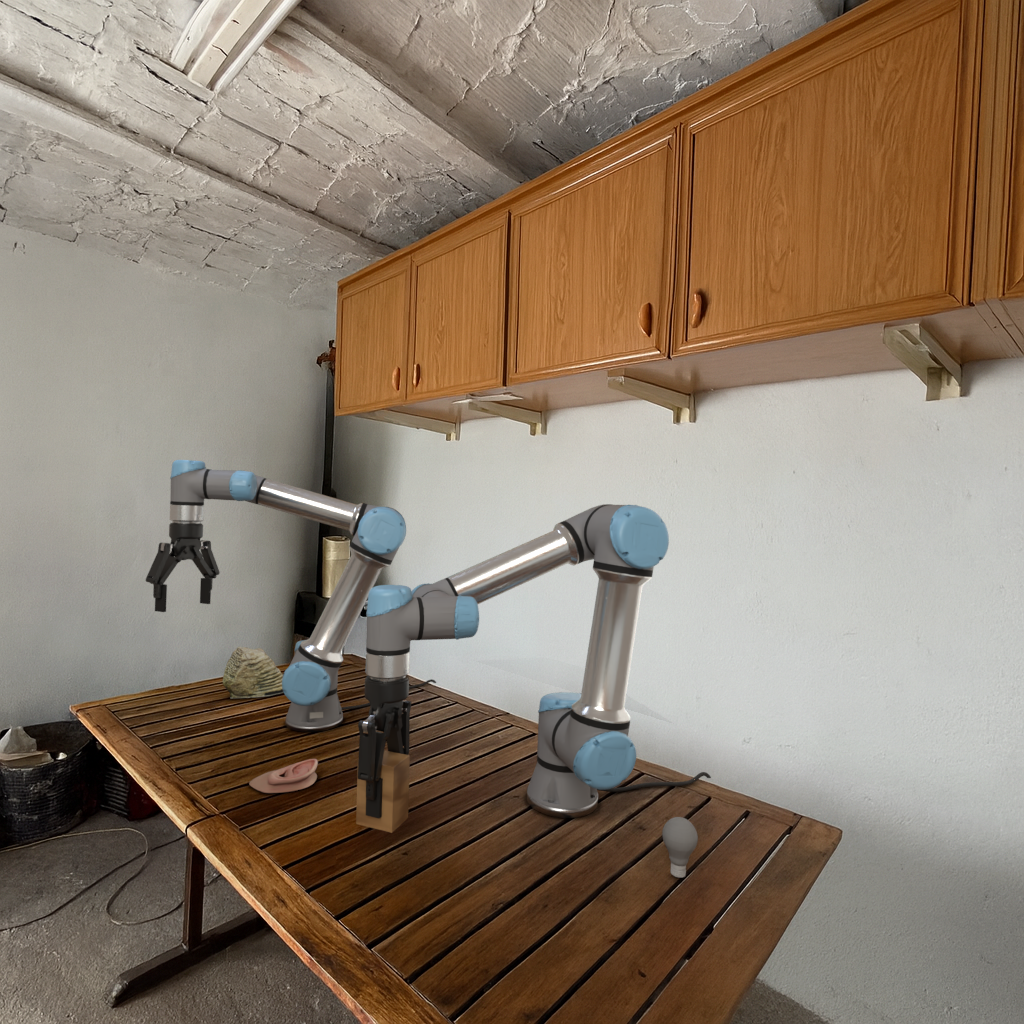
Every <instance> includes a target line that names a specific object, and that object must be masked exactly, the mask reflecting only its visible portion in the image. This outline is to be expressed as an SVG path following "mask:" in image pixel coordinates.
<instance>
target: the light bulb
mask: <svg viewBox="0 0 1024 1024" xmlns="http://www.w3.org/2000/svg"><path fill="white" fill-rule="evenodd" d="M661 833H662V834H661V835H662V841H663V843H664V845H665V847H666V850H667V852H668V858H669V861H670V874H671V875H672V876H673V877H675V878H678V879H679V878H680V879H681V878H685V877H686V875H687V864H688V863H689V860H690V857H691V855H692V854H693V852H694V851H695V850H696V847H697V845H698V841H699V837H698V831H697V829H696V827H695V825H694V824H693V823H692V822H691V821H690V820H689V819H687V818H685V817H682V816H674V817H672V818H670V819H669V820H667V821H666V823H665V824H664V826H663V828H662V831H661Z"/></svg>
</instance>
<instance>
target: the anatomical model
mask: <svg viewBox="0 0 1024 1024" xmlns="http://www.w3.org/2000/svg"><path fill="white" fill-rule="evenodd" d="M318 764H319V761H318V759H317V758H309V759H305V760H302V761H299V762H296V763H293V764H290V765H289V764H288V765H287V766H284V767H281V768H279V769H274V770H271V771H268V772H265V773H263V774H260V775H258V776H256V777H254V778H252V779H251V780H250V781H249V783H248V784H249V785H248V786H250V787H251V788H253V789H254V790H256V791H258V792H261V793H264V794H279V793H289V792H295V791H298V790H303V789H306V788H309V787H311V786H312V785H313V784H315V782H316V781H317V778H318V775H317V773H316V770H317V768H318Z"/></svg>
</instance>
